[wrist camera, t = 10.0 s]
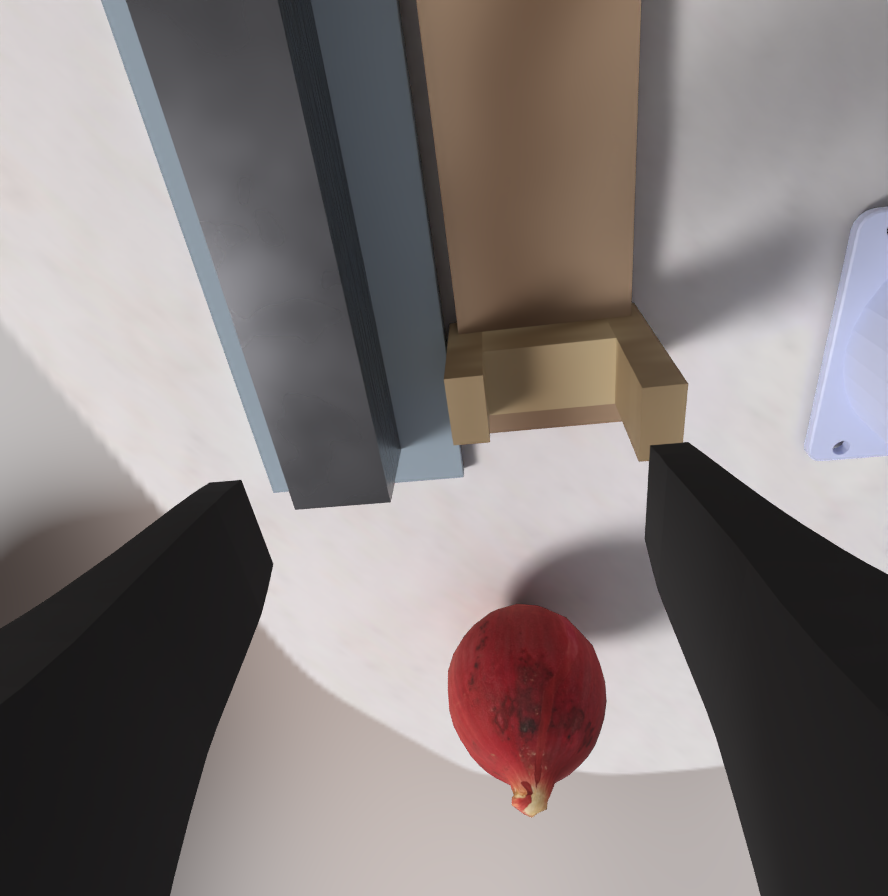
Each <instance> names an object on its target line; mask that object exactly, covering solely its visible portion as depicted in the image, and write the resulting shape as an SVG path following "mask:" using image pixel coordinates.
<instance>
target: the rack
mask: <svg viewBox="0 0 888 896" xmlns="http://www.w3.org/2000/svg"><path fill="white" fill-rule="evenodd" d="M416 3H417V11H418V19H419V27H420V34H421V42H422V50H423V58H424V66H425V74H426V82H427V90H428V97H429V105H430V113H431V121H432V129H433V137H434V145H435V153H436V160H437V168H438V176H439V184H440V192H441V200H442V208H443V216H444V223H445V231H446V239H447V247H448V255H449V263H450V271H451V279H452V286H453V294H454V302H455V310H456V318H457V323H450V327H449V336H448V345H447V354H446V363H445V372H444V385H445V391H446V398H447V405H448V412H449V419H450V425H451V432H452V439H453V445H464V444H476V443H487V442H490V433H498V432H509V431H520V430H531V429H542V428H553V427H565V426H576V425H587V424H598V423H609V422H620V421H622V422H623V424H624V427H625V429H626V431H627V434H628V436H629V439H630V441H631V444H632V446H633V448H634V451H635V453H636V456H637V458H638V461H639V462H640V461H649V455H650V445H660V444H672V443H683V435H684V424H685V413H686V402H687V390H688V383H687V381H686V380H685V378H684V377H683V375H682V374H681V372H680V371H679V369H678V368H677V366H676V365H675V363H674V362H673V360H672V359H671V357H670V356H669V354H668V353H667V351H666V350H665V348H664V347H663V346H662V344H661V343H660V341H659V340H658V338H657V337H656V335H655V334H654V332H653V331H652V329H651V328H650V326H649V325H648V323H647V322H646V320H645V319H644V317H643V316H642V314H641V313H640V311H639V310H638V308H637V307H636V305H635V304H634V303H631V300H632V269H633V238H634V207H635V176H636V146H637V115H638V84H639V53H640V22H641V0H416Z"/></svg>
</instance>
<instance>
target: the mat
mask: <svg viewBox="0 0 888 896" xmlns="http://www.w3.org/2000/svg"><path fill="white" fill-rule="evenodd" d="M101 1H102V4H103V7H104V10H105V13H106V16H107V19H108V21H109V24H110V27H111V30H112V33H113V36H114V39H115V41H116V44H117V47H118V50H119V53H120V56H121V59H122V61H123V64H124V67H125V70H126V73H127V76H128V79H129V81H130V84H131V87H132V90H133V93H134V96H135V99H136V101H137V104H138V107H139V110H140V113H141V116H142V118H143V121H144V124H145V127H146V130H147V133H148V136H149V138H150V141H151V144H152V147H153V150H154V153H155V156H156V158H157V161H158V164H159V167H160V170H161V173H162V176H163V178H164V181H165V184H166V187H167V190H168V193H169V196H170V198H171V201H172V204H173V207H174V210H175V213H176V216H177V218H178V221H179V224H180V227H181V230H182V233H183V236H184V238H185V241H186V244H187V247H188V250H189V253H190V256H191V258H192V261H193V264H194V267H195V270H196V273H197V276H198V278H199V281H200V284H201V287H202V290H203V293H204V296H205V298H206V301H207V304H208V307H209V310H210V313H211V316H212V318H213V321H214V324H215V327H216V330H217V333H218V335H219V338H220V341H221V344H222V347H223V350H224V353H225V355H226V358H227V361H228V364H229V367H230V370H231V373H232V375H233V378H234V381H235V384H236V387H237V390H238V393H239V395H240V398H241V401H242V404H243V407H244V410H245V413H246V415H247V418H248V421H249V424H250V427H251V430H252V433H253V435H254V438H255V441H256V444H257V447H258V450H259V453H260V455H261V458H262V461H263V464H264V467H265V470H266V473H267V475H268V478H269V481H270V484H271V487H272V490H273V493H276V492H288V491H289V490H288V487H287V484H286V481H285V478H284V475H283V472H282V469H281V466H280V463H279V460H278V457H277V454H276V451H275V448H274V445H273V442H272V439H271V436H270V433H269V430H268V427H267V423H266V420H265V417H264V414H263V411H262V408H261V405H260V402H259V399H258V396H257V393H256V390H255V387H254V384H253V381H252V378H251V375H250V372H249V369H248V366H247V363H246V360H245V357H244V354H243V351H242V348H241V345H240V342H239V339H238V336H237V333H236V330H235V327H234V324H233V321H232V318H231V315H230V312H229V309H228V306H227V303H226V300H225V297H224V294H223V291H222V288H221V285H220V282H219V279H218V276H217V273H216V270H215V267H214V264H213V261H212V258H211V255H210V252H209V249H208V246H207V243H206V240H205V237H204V234H203V231H202V228H201V225H200V222H199V219H198V216H197V213H196V210H195V207H194V204H193V201H192V198H191V195H190V192H189V189H188V186H187V183H186V180H185V177H184V174H183V171H182V168H181V165H180V162H179V159H178V156H177V153H176V150H175V147H174V144H173V141H172V138H171V135H170V132H169V129H168V126H167V123H166V120H165V117H164V114H163V111H162V108H161V105H160V102H159V99H158V96H157V93H156V90H155V87H154V84H153V81H152V78H151V75H150V72H149V69H148V66H147V63H146V60H145V57H144V54H143V51H142V48H141V45H140V42H139V39H138V36H137V33H136V30H135V27H134V24H133V21H132V18H131V15H130V12H129V9H128V6H127V3H126V0H101ZM311 4H312V8H313V13H314V18H315V23H316V28H317V33H318V38H319V43H320V48H321V53H322V58H323V63H324V68H325V73H326V78H327V83H328V88H329V93H330V98H331V103H332V108H333V113H334V118H335V123H336V128H337V132H338V137H339V142H340V147H341V152H342V157H343V162H344V167H345V172H346V177H347V182H348V187H349V192H350V197H351V202H352V207H353V212H354V217H355V222H356V227H357V232H358V237H359V242H360V247H361V252H362V257H363V261H364V266H365V271H366V276H367V281H368V286H369V291H370V296H371V301H372V306H373V311H374V316H375V321H376V326H377V331H378V336H379V341H380V346H381V351H382V356H383V361H384V366H385V371H386V376H387V381H388V386H389V390H390V395H391V400H392V405H393V410H394V415H395V420H396V425H397V430H398V435H399V440H400V445H401V453H400V458H399V463H398V468H397V473H396V478H395V483H398V482H410V481H423V480H435V479H447V478H459V477H464V467H463V460H462V453H461V445H453V439H452V432H451V425H450V419H449V412H448V405H447V398H446V391H445V385H444V372H445V363H446V354H447V345H446V338H445V331H444V324H443V317H442V309H441V302H440V295H439V288H438V281H437V274H436V266H435V259H434V252H433V245H432V238H431V231H430V223H429V216H428V209H427V202H426V195H425V188H424V180H423V173H422V166H421V159H420V152H419V145H418V138H417V130H416V123H415V116H414V109H413V102H412V95H411V87H410V80H409V73H408V66H407V59H406V52H405V44H404V37H403V30H402V23H401V16H400V9H399V1H398V0H311Z"/></svg>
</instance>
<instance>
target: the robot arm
mask: <svg viewBox="0 0 888 896" xmlns="http://www.w3.org/2000/svg"><path fill="white" fill-rule="evenodd" d="M887 228H888V206H887V207H878V208H873V209H870V210H867V211H865V212H864V213H862V214H861V215H859V217H858V218H857V219H856V220H855V221H854V223H853V226H852V228H851V231H850V236H849V241H848V245H847V250H846V254H845V259H844V264H843V268H842V273H841V278H840V282H839V287H838V291H837V296H836V301H835V305H834V310H833V315H832V319H831V324H830V328H829V333H828V338H827V342H826V347H825V352H824V356H823V361H822V365H821V370H820V375H819V379H818V384H817V389H816V393H815V398H814V402H813V407H812V412H811V416H810V421H809V426H808V430H807V435H806V440H805V444H804V450H805V451H806V453H807V454H808V455H809V456H810V458H812V459H814V460H816V461H828V460H841V459H853V458H866V457H879V456H888V234H887ZM841 441H843V443H842V445H840V446H839V447H837V448H833V447H834V445H836V444H837V443H838V442H841ZM645 542H646V546H647V550H648V554H649V558H650V562H651V566H652V570H653V573H654V577H655V581H656V585H657V588H658V591H659V594H660V597H661V599H662V602H663V604H664V607H665V609H666V612H667V614H668V617H669V619H670V622H671V624H672V627H673V629H674V632H675V634H676V637H677V639H678V642H679V644H680V647H681V649H682V652H683V654H684V656H685V659H686V661H687V664H688V666H689V669H690V671H691V674H692V676H693V679H694V681H695V684H696V686H697V688H698V691H699V693H700V696H701V698H702V701H703V703H704V706H705V708H706V711H707V714H708V716H709V719H710V722H711V725H712V728H713V730H714V733H715V736H716V739H717V742H718V746H719V749H720V752H721V756H722V759H723V763H724V766H725V769H726V773H727V776H728V780H729V783H730V786H731V790H732V793H733V797H734V800H735V803H736V807H737V810H738V814H739V818H740V821H741V825H742V828H743V832H744V836H745V839H746V843H747V846H748V850H749V854H750V857H751V861H752V864H753V868H754V872H755V876H756V879H757V883H758V887H759V891H760V895H761V896H888V574H886V573H884V572H882V571H881V570H879V569H877V568H875V567H873V566H871V565H869V564H867V563H866V562H864V561H862V560H860V559H859V558H857V557H855V556H853V555H852V554H850V553H848V552H847V551H845V550H843V549H841V548H840V547H838V546H837V545H835V544H833V543H832V542H830V541H829V540H827V539H825V538H824V537H822V536H821V535H819V534H817V533H816V532H814V531H813V530H811V529H809V528H808V527H806V526H805V525H803V524H801V523H800V522H798V521H797V520H795V519H794V518H792V517H791V516H789V515H788V514H786V513H785V512H783V511H782V510H781V509H779V508H778V507H776V506H775V505H773V504H772V503H770V502H769V501H768V500H766V499H765V498H763V497H762V496H760V495H759V494H758V493H756V492H755V491H754V490H752V489H751V488H749V487H748V486H747V485H745V484H744V483H743V482H741V481H740V480H738V479H737V478H736V477H734V476H733V475H732V474H730V473H729V472H728V471H726V470H725V469H724V468H722V467H721V466H720V465H718V464H717V463H716V462H714V461H713V460H712V459H710V458H709V457H708V456H706V455H705V454H704V453H702V452H701V451H700V450H698V449H697V448H696V447H694V446H693V445H691V444H690V443H688V442H683V443H672V444H660V445H650V455H649V473H648V491H647V508H646V526H645ZM272 568H273V562H272V559H271V557H270V554H269V552H268V549H267V546H266V544H265V541H264V538H263V536H262V533H261V530H260V528H259V525H258V523H257V520H256V517H255V515H254V512H253V509H252V507H251V504H250V502H249V499H248V496H247V494H246V491H245V488H244V486H243V483H242V481H241V480H236V481H224V482H212V483H208V484H207V485H205V486H204V487H202V488H200V489H199V490H197V491H196V492H194V493H193V494H191V495H190V496H189V497H187V498H186V499H184V500H183V501H182V502H180V503H179V504H177V505H176V506H175V507H173V508H172V509H171V510H169V511H168V512H167V513H165V514H164V515H163V516H161V517H160V518H159V519H158V520H156V521H155V522H154V523H152V524H151V525H150V526H148V527H147V528H146V529H144V530H143V531H142V532H140V533H139V534H138V535H136V536H135V537H134V538H132V539H131V540H130V541H128V542H127V543H126V544H124V545H123V546H122V547H120V548H119V549H118V550H117V551H115V552H114V553H113V554H111V555H110V556H108V557H107V558H105V559H104V560H103V561H101V562H100V563H98V564H97V565H96V566H94V567H93V568H92V569H90V570H89V571H87V572H86V573H84V574H83V575H81V576H80V577H79V578H77V579H76V580H74V581H73V582H71V583H70V584H69V585H67V586H66V587H64V588H63V589H62V590H60V591H59V592H57V593H56V594H54V595H53V596H52V597H50V598H49V599H47V600H45V601H44V602H42V603H41V604H39V605H38V606H36V607H35V608H33V609H32V610H30V611H28V612H27V613H25V614H24V615H22V616H20V617H19V618H17V619H15V620H14V621H12V622H11V623H9V624H7V625H6V626H4V627H2V628H1V629H0V896H170V893H171V889H172V884H173V880H174V876H175V872H176V868H177V863H178V860H179V856H180V852H181V848H182V844H183V840H184V836H185V833H186V829H187V824H188V821H189V816H190V813H191V810H192V806H193V802H194V799H195V795H196V792H197V788H198V784H199V781H200V778H201V774H202V771H203V767H204V764H205V760H206V757H207V753H208V751H209V748H210V745H211V742H212V740H213V737H214V734H215V731H216V728H217V726H218V723H219V721H220V718H221V716H222V713H223V710H224V708H225V705H226V703H227V701H228V698H229V696H230V693H231V691H232V688H233V685H234V683H235V681H236V678H237V675H238V673H239V671H240V668H241V665H242V663H243V661H244V658H245V656H246V653H247V650H248V648H249V645H250V643H251V640H252V637H253V635H254V632H255V630H256V627H257V625H258V622H259V619H260V616H261V614H262V610H263V606H264V602H265V598H266V594H267V590H268V586H269V581H270V577H271V572H272Z"/></svg>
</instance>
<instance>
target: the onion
mask: <svg viewBox="0 0 888 896" xmlns="http://www.w3.org/2000/svg"><path fill="white" fill-rule="evenodd" d="M448 697H449V711H450V714H451V718H452V722H453V726H454V728H455V730H456V732H457V734H458V736H459V738H460V740H461V741H462V743H463V744H464V746H465V747H466V749H467V751H468V752H469V754H470V755H471V757H472V758H473V759H474V760H475V761H476V762H477V763H478V764H479V765H480V766H481V767H482V768H483V769H484V770H485V771H486V772H487V773H489V774H490V775H492V776H494V777H495V778H497V779H499V780H501V781H503V782H505V783H507V784H509V785H511V788H512V791H513V794H514V796H513V797H512V806H514V807H515V808H517V809H518V810H519V811H521V812H522V813H523V814H525V815H527V816H529V817H533V816H535V815H536V814H537V813H539V812H541V811H544V810H546V809H547V802H548V799H549V797H550V794H551V792H552V789H553V787H554V784H555V783H556V782H558V781H560V780H562V779H563V778H565V777H566V776H568V775H570V774H571V773H572V772H573V771H574V770H575V769H576V768H577V767H579V766H580V765H581V764H582V762H583V761H584V760H585V759H586V758H587V757H588V756H589V754H590V753H591V751H592V750H593V748H594V746H595V744H596V742H597V739H598V737H599V734H600V731H601V728H602V724H603V721H604V716H605V709H606V702H607V701H606V688H605V680H604V677H603V673H602V670H601V666H600V663H599V660H598V658H597V655H596V653H595V650H594V648H593V645H592V644H591V643H590V642H589V641H588V640H587V639H586V638H585V637H584V636H583V634H582V633H581V632H580V631H579V630H578V629H577V628H576V627H575V626H574V625H573V624H572V623H571V622H570V621H569V620H568V619H567V618H566V617H564V616H562V615H559V614H557V613H555V612H552V611H550V610H548V609H546V608H543V607H540V606H537V605H524V604H515V605H511V606H508V607H504V608H501V609H498V610H495V611H493V612H491V613H489V614H488V615H487V616H485V617H484V618H483V619H481V620H480V621H479V622H477V623H476V624H475V625H474V626H473V627H472V628H471V629H470V630H469V631H468V632H467V634H466V635H465V636H464V637H463V639H462V641H461V642H460V644H459V646H458V647H457V649H456V651H455V652H454V654H453V657H452V660H451V663H450V667H449V670H448Z"/></svg>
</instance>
